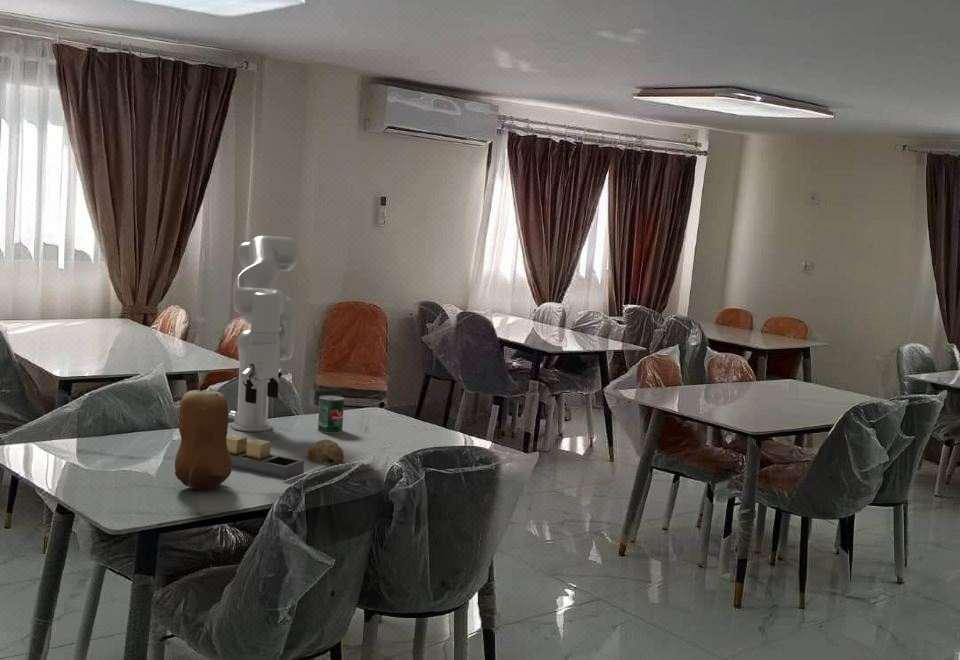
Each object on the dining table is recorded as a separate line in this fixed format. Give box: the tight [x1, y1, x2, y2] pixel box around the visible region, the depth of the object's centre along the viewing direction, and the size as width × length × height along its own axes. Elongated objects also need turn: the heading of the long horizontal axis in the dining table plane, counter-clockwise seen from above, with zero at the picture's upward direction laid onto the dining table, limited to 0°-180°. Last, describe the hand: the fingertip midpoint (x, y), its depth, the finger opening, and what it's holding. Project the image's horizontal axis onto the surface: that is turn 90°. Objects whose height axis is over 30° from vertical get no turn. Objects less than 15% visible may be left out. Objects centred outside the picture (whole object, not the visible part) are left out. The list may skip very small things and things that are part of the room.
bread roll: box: [307, 439, 344, 466], centre depth 280 cm, size 10×10×8 cm
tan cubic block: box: [246, 438, 272, 461], centre depth 267 cm, size 4×4×7 cm
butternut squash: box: [174, 389, 232, 491], centre depth 244 cm, size 14×13×25 cm
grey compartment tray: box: [230, 452, 305, 481], centre depth 267 cm, size 24×8×4 cm, turn 66°
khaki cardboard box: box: [226, 434, 248, 456], centre depth 269 cm, size 4×4×7 cm
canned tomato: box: [317, 394, 345, 434], centre depth 316 cm, size 8×8×11 cm
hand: (261, 399), depth 267 cm, fingers open, 9 cm apart
